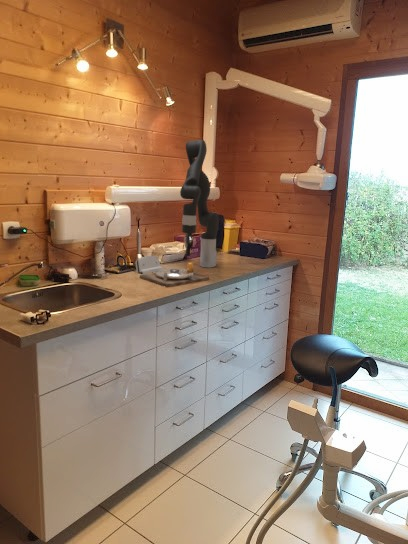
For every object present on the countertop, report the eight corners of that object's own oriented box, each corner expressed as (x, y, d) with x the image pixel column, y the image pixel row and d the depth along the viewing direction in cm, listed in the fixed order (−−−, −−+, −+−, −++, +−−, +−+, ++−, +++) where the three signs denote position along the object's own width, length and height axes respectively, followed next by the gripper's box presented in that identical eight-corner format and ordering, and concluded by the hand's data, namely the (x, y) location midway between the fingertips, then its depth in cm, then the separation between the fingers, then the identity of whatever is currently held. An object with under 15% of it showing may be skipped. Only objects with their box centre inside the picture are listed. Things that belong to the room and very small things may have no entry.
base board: (180, 271, 243) (180, 261, 241) (209, 279, 225) (209, 268, 224) (139, 277, 224) (139, 266, 223) (167, 287, 207) (167, 275, 206)
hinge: (142, 274, 232) (138, 256, 232) (137, 275, 235) (133, 258, 235) (163, 270, 245) (159, 253, 245) (158, 271, 248) (154, 255, 248)
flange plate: (177, 269, 238) (177, 257, 237) (204, 276, 222) (204, 264, 221) (148, 273, 225) (148, 261, 223) (174, 282, 209) (174, 269, 207)
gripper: (180, 222, 231) (179, 253, 234) (184, 224, 218) (183, 257, 222) (193, 222, 232) (192, 253, 236) (198, 225, 220) (197, 258, 223)
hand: (187, 255), depth 229 cm, fingers closed
